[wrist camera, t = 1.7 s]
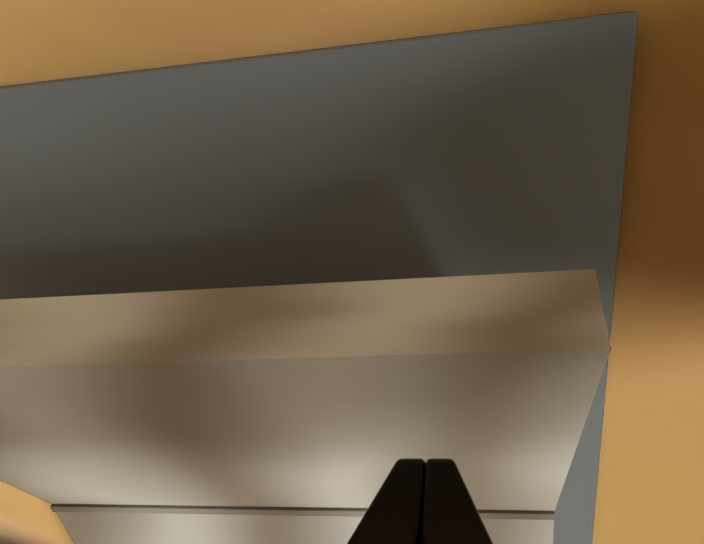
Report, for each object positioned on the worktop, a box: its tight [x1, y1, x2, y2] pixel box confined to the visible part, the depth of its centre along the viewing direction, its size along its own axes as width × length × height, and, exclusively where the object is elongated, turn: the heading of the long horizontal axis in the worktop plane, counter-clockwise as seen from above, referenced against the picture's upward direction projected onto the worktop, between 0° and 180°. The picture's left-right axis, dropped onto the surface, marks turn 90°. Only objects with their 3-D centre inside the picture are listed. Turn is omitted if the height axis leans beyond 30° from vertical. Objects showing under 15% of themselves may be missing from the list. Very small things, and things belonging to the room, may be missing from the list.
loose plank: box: [0, 269, 611, 511], centre depth 16 cm, size 16×10×2 cm, turn 98°
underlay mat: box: [0, 11, 638, 544], centre depth 19 cm, size 19×19×1 cm
